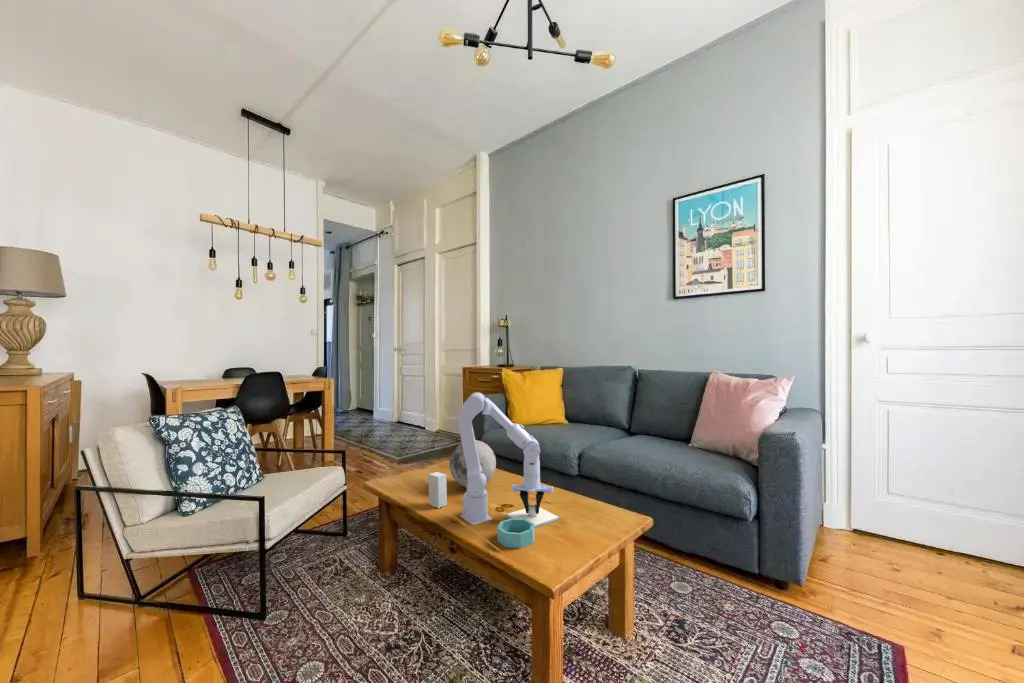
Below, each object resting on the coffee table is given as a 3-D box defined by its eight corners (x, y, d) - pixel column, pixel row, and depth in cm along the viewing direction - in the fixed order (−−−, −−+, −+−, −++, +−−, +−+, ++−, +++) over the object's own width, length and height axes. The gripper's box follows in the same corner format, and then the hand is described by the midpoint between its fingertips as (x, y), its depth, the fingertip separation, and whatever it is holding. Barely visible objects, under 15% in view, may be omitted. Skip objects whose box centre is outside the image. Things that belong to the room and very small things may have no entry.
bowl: (492, 538, 130) (491, 524, 130) (520, 529, 137) (520, 515, 137) (511, 552, 121) (511, 537, 121) (541, 542, 127) (540, 527, 127)
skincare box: (447, 505, 158) (446, 474, 158) (438, 509, 155) (437, 477, 155) (437, 501, 162) (437, 471, 162) (428, 505, 159) (428, 474, 159)
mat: (503, 516, 147) (503, 515, 147) (536, 506, 155) (536, 505, 155) (528, 531, 135) (528, 530, 135) (562, 520, 143) (562, 518, 143)
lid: (506, 515, 147) (506, 504, 147) (535, 506, 154) (535, 495, 154) (528, 528, 136) (528, 516, 136) (558, 518, 143) (558, 506, 143)
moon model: (486, 476, 192) (485, 433, 192) (503, 490, 173) (503, 442, 174) (444, 483, 183) (443, 438, 183) (458, 498, 165) (457, 448, 165)
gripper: (509, 476, 143) (510, 515, 142) (551, 478, 140) (552, 518, 140) (513, 470, 149) (513, 507, 149) (553, 471, 147) (553, 510, 147)
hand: (532, 512), depth 145 cm, fingers closed on lid, 3 cm apart
